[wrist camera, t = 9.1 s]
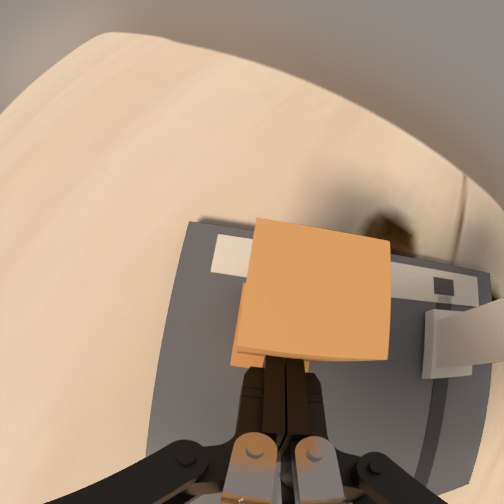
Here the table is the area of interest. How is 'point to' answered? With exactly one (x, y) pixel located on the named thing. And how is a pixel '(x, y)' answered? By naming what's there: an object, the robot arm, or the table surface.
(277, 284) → the orange tab
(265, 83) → the table surface
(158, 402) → the switch panel
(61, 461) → the table surface
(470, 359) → the white slide tab
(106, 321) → the table surface
